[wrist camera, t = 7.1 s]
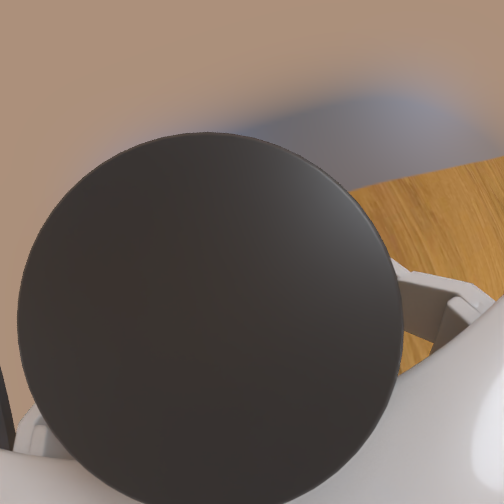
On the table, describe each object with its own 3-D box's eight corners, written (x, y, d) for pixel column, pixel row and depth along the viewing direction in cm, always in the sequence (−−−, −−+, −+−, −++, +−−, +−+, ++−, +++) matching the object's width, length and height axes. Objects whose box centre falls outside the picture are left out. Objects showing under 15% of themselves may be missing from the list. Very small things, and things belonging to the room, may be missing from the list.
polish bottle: (200, 386, 14) (44, 539, 1) (182, 301, 15) (-2, 148, 2) (288, 368, 14) (488, 465, 1) (268, 284, 16) (365, 68, 3)
